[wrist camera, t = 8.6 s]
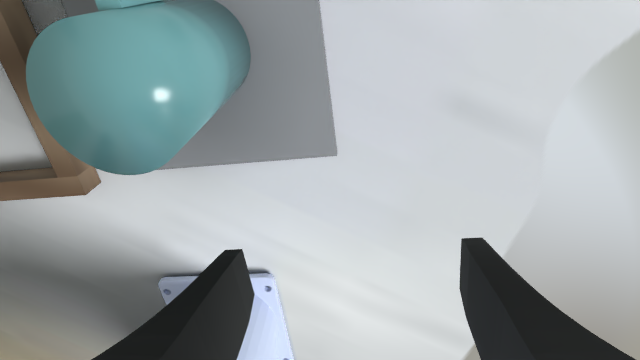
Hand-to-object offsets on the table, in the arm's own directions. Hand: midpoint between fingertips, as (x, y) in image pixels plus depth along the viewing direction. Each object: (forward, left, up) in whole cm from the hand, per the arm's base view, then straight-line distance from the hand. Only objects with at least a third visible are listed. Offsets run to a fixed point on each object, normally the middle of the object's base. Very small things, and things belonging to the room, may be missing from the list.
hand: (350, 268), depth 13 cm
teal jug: (+6, +7, -9) cm, 13 cm away
